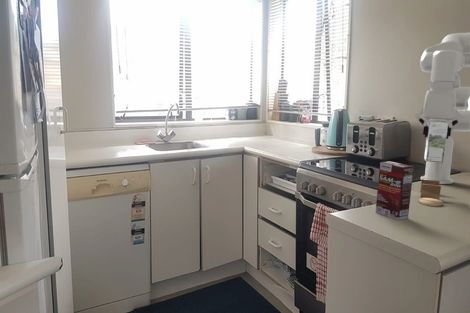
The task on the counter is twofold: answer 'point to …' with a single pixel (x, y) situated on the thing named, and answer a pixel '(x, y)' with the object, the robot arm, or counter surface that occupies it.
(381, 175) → the supplement box
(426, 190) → the cradle
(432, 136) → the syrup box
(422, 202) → the disc
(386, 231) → the counter surface
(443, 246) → the counter surface
